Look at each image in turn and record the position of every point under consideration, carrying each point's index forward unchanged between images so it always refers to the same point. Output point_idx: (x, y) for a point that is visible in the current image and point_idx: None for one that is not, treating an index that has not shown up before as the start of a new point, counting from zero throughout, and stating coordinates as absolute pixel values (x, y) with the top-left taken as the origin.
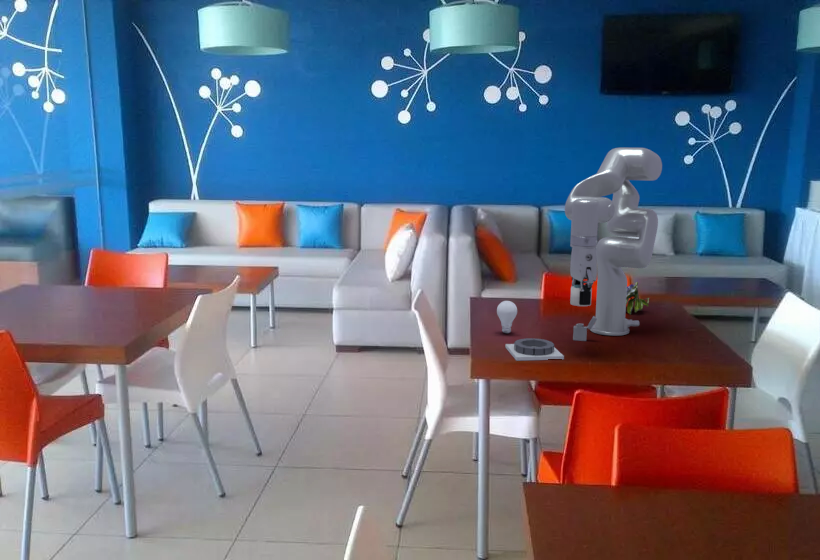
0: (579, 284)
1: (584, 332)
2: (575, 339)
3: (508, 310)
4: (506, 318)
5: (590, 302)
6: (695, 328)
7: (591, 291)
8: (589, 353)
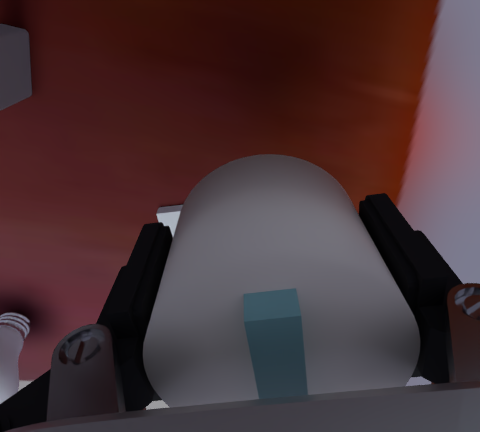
0: (120, 372)
1: (4, 46)
2: (29, 86)
3: (3, 399)
4: (17, 372)
5: (330, 182)
6: None
7: (346, 240)
8: (253, 63)
